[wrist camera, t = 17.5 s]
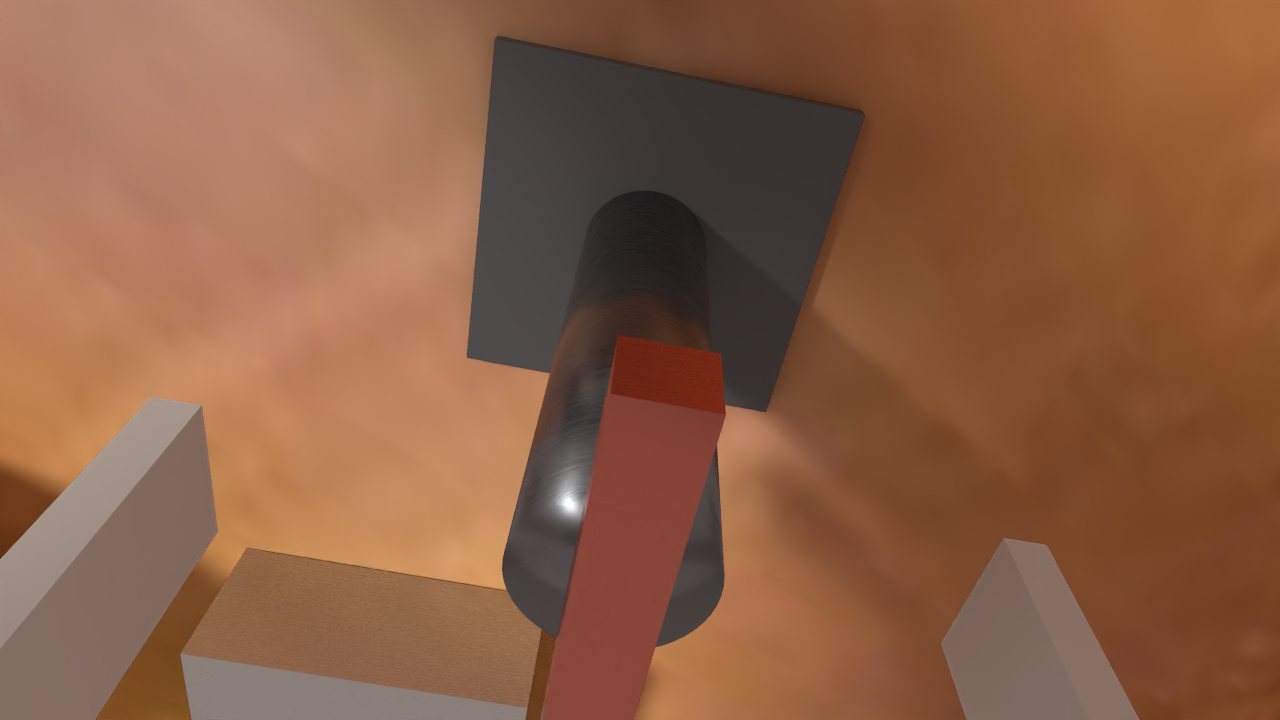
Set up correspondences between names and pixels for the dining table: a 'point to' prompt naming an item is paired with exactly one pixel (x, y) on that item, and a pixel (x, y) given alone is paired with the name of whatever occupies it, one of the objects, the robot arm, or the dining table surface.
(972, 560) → the dining table surface
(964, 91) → the dining table surface
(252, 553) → the block
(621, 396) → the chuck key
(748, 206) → the mat
